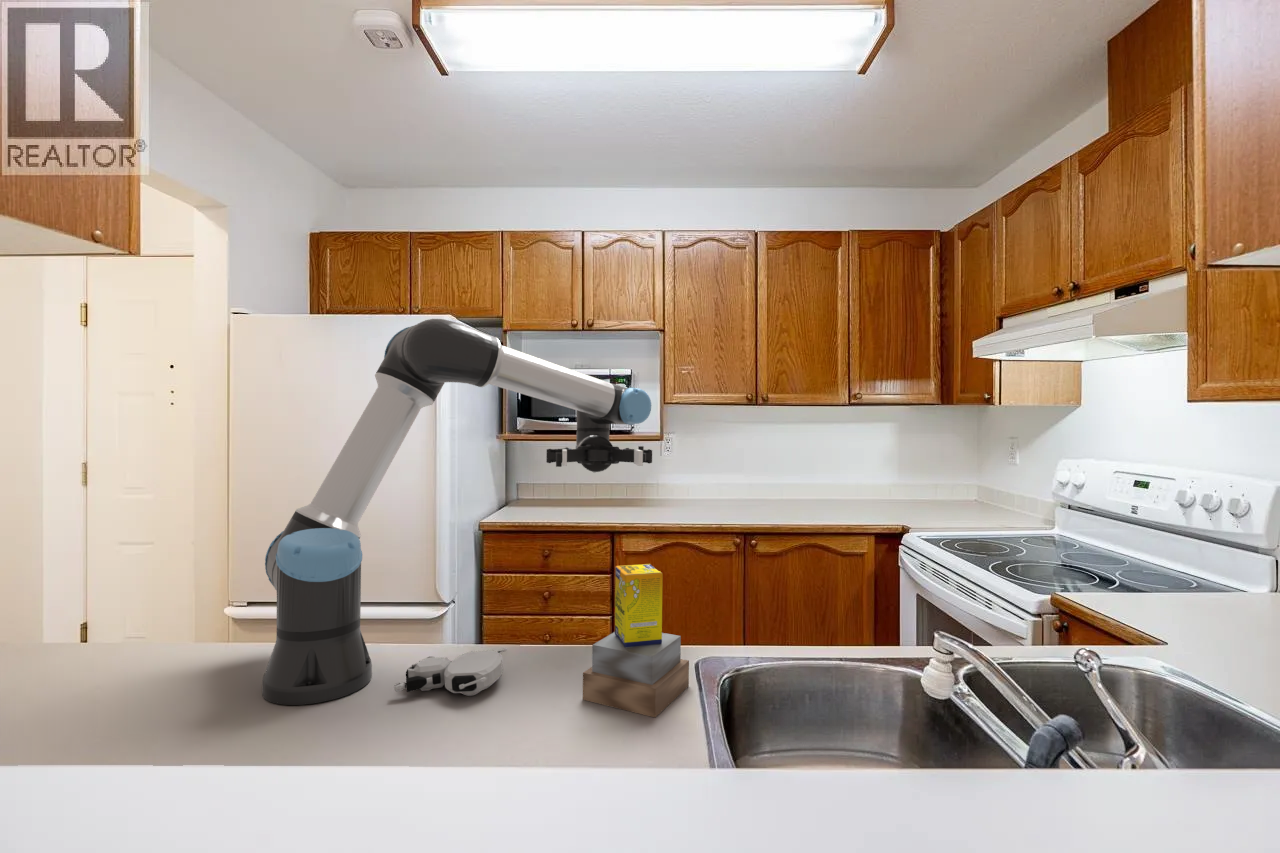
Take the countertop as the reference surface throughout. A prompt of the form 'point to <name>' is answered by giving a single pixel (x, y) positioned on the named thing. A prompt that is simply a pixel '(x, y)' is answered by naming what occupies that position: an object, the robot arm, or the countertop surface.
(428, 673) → the robot toy
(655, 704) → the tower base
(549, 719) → the countertop surface
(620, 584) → the supplement box
